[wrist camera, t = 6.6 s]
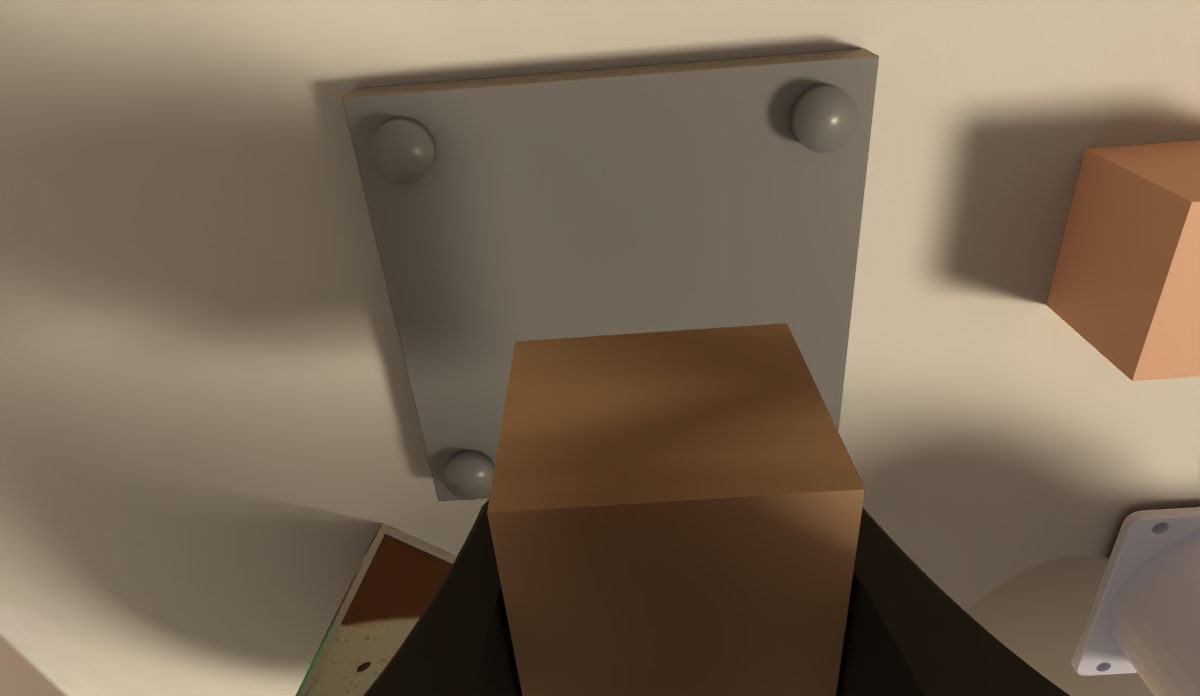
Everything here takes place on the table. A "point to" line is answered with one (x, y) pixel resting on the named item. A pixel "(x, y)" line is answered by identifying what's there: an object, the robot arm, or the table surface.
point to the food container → (376, 613)
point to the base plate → (610, 219)
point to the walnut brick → (673, 516)
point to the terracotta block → (1135, 258)
